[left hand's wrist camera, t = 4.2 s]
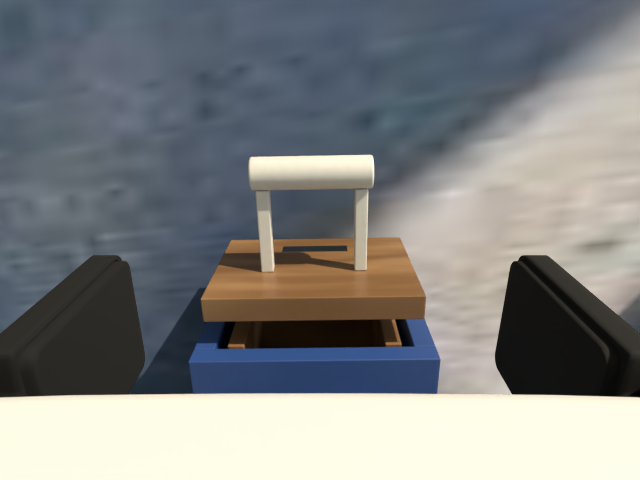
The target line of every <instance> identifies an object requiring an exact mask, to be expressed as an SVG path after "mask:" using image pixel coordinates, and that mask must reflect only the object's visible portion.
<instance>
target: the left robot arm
mask: <svg viewBox="0 0 640 480" xmlns="http://www.w3.org/2000/svg"><path fill="white" fill-rule="evenodd" d="M144 362H145V352H144V346H143V341H142V335H141V329H140V323H139V318H138V312H137V306H136V301H135V295H134V289H133V283H132V278H131V272H130V267H129V264H128V263H127V262H126V261H122V260H121V258H120V257H119V256H116V255H94V256H92V257H90V258H89V259H88V260H87V261H85V262H84V263H83V264H82V265H81V266H80V267H78V268H77V269H76V270H75V271H74V272H72V273H71V274H70V275H69V276H68V277H67V278H65V279H64V280H63V281H62V282H61V283H60V284H58V285H57V286H56V287H55V288H54V289H52V290H51V291H50V292H49V293H48V294H47V295H45V296H44V297H43V298H42V299H41V300H40V301H38V302H37V303H36V304H35V305H34V306H32V307H31V308H30V309H29V310H28V311H27V312H25V313H24V314H23V315H22V316H21V317H20V318H18V319H17V320H16V321H15V322H14V323H12V324H11V325H10V326H9V327H8V328H7V329H5V330H4V331H3V332H2V333H1V334H0V480H640V334H639V333H638V332H637V331H636V330H635V329H633V328H632V327H631V326H630V325H629V324H628V323H626V322H625V321H624V320H623V319H622V318H620V317H619V316H618V315H617V314H616V313H615V312H613V311H612V310H611V309H610V308H609V307H608V306H606V305H605V304H604V303H603V302H602V301H600V300H599V299H598V298H597V297H596V296H595V295H593V294H592V293H591V292H590V291H589V290H588V289H586V288H585V287H584V286H583V285H582V284H580V283H579V282H578V281H577V280H576V279H575V278H573V277H572V276H571V275H570V274H569V273H568V272H566V271H565V270H564V269H563V268H562V267H560V266H559V265H558V264H557V263H556V262H555V261H553V260H552V259H551V258H550V257H548V256H546V255H524V256H521V257H520V258H519V260H518V261H514V262H513V263H512V264H511V267H510V272H509V278H508V283H507V289H506V295H505V301H504V306H503V312H502V318H501V323H500V329H499V335H498V341H497V346H496V352H495V362H496V366H497V369H498V371H499V372H500V374H501V376H502V378H503V379H504V381H505V383H506V385H507V386H508V388H509V390H510V391H511V393H512V395H499V394H383V393H256V394H143V395H128V393H129V391H130V390H131V388H132V386H133V384H134V383H135V381H136V379H137V378H138V376H139V374H140V372H141V371H142V369H143V366H144Z"/></svg>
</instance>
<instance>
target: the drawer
mask: <svg viewBox="0 0 640 480" xmlns="http://www.w3.org/2000/svg"><path fill="white" fill-rule="evenodd" d="M248 176H249V184H250V188H251V189H252V190H256V204H257V217H258V231H259V240H231V241H230V243H229V245H228V247H227V249H226V251H225V253H224V255H223V257H222V259H221V261H220V263H219V264H218V266H217V268H216V270H215V272H214V274H213V276H212V278H211V280H210V282H209V284H208V286H207V288H206V290H205V292H204V294H203V295H202V297H201V307H202V314H203V321H204V322H236V323H235V326H234V329H233V332H232V335H231V338H230V341H229V344H228V349H265V348H345V347H402V343H401V340H400V336H399V333H398V329H397V326H396V322H395V319H424V315H425V303H426V295H425V293H424V291H423V289H422V286H421V284H420V282H419V280H418V277H417V275H416V273H415V270H414V268H413V266H412V264H411V261H410V259H409V257H408V255H407V252H406V250H405V248H404V246H403V243H402V241H401V239H400V238H367V223H368V189H367V188H372V187H373V183H374V160H373V156H372V155H335V156H278V157H251V158H250V160H249V165H248ZM302 189H355V191H354V238H343V239H278V240H273V233H272V217H271V201H270V190H302Z"/></svg>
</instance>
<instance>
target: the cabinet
mask: <svg viewBox="0 0 640 480" xmlns="http://www.w3.org/2000/svg"><path fill="white" fill-rule="evenodd" d="M395 322H396V326H397V329H398V333H399V336H400V340H401V343H402V347H345V348H265V349H228V344H229V341H230V338H231V335H232V332H233V329H234V326H235V323H236V322H206V324H205V326H204V328H203V330H202V333H201V335H200V337H199V339H198V342H197V344H196V346H195V348H194V351H193V353H192V355H191V357H190V359H189V362H188V364H189V370H190V377H191V383H192V389H193V394H256V393H383V394H437V388H438V378H439V368H440V357H439V355H438V352H437V350H436V347H435V344H434V342H433V339H432V337H431V334H430V332H429V329H428V327H427V324H426V322H425V319H395Z"/></svg>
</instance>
